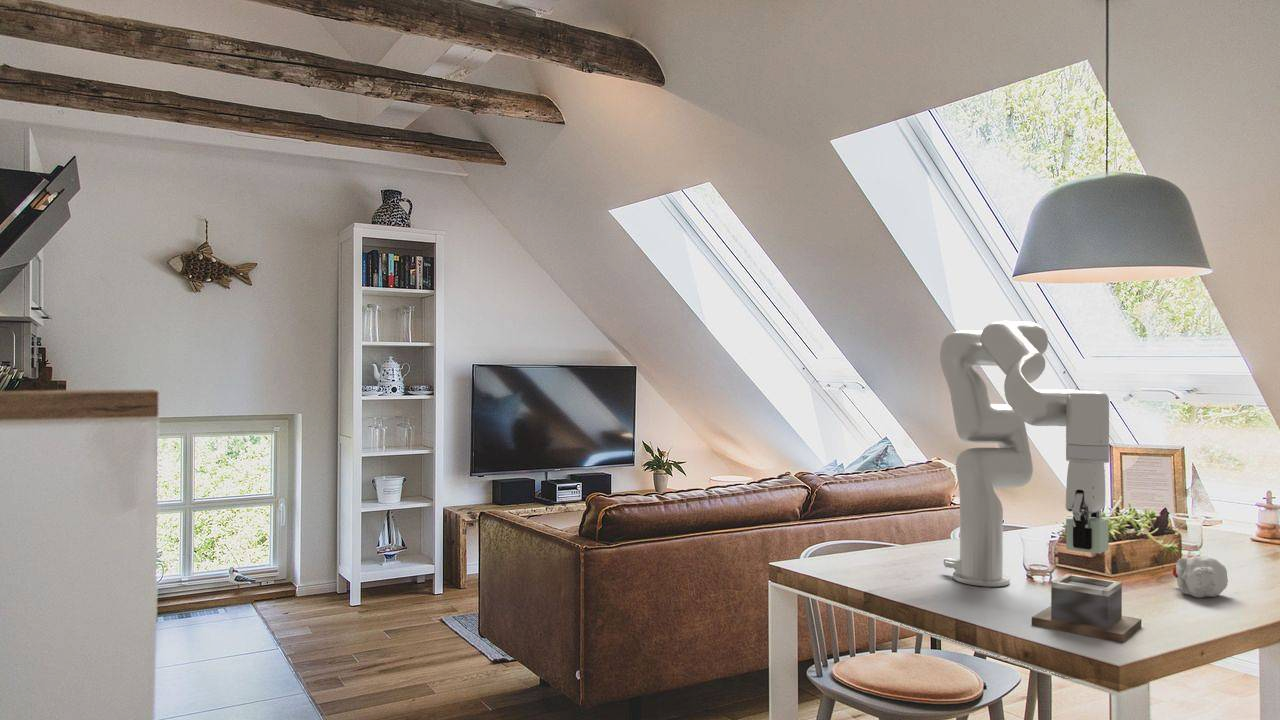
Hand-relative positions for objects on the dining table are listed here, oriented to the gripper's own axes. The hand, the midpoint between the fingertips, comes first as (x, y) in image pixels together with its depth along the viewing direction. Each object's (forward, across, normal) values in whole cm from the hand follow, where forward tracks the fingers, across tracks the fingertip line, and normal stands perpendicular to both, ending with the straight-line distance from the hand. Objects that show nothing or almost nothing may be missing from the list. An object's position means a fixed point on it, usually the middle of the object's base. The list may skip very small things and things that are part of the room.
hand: (1087, 545), depth 168 cm
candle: (+16, -46, +11) cm, 50 cm away
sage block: (+1, 0, 0) cm, 1 cm away
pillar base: (+16, 0, 0) cm, 16 cm away
